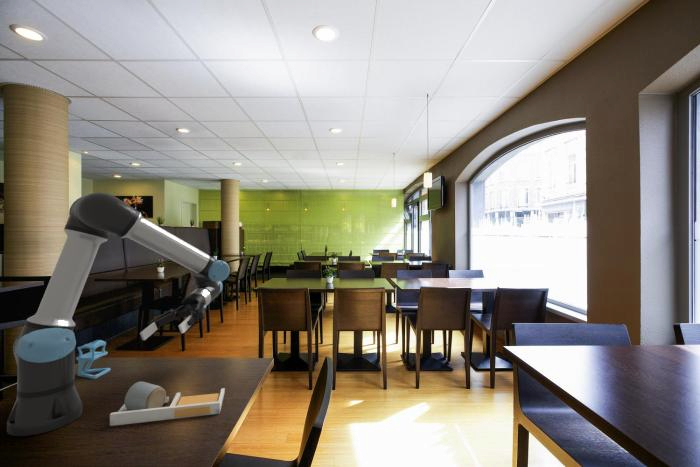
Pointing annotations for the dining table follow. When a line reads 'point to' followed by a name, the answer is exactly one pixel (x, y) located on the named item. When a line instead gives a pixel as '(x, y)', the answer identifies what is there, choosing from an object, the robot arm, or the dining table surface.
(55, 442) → the dining table surface
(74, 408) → the robot arm
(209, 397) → the bay rack
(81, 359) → the chair
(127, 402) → the ceramic mug
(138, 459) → the dining table surface
